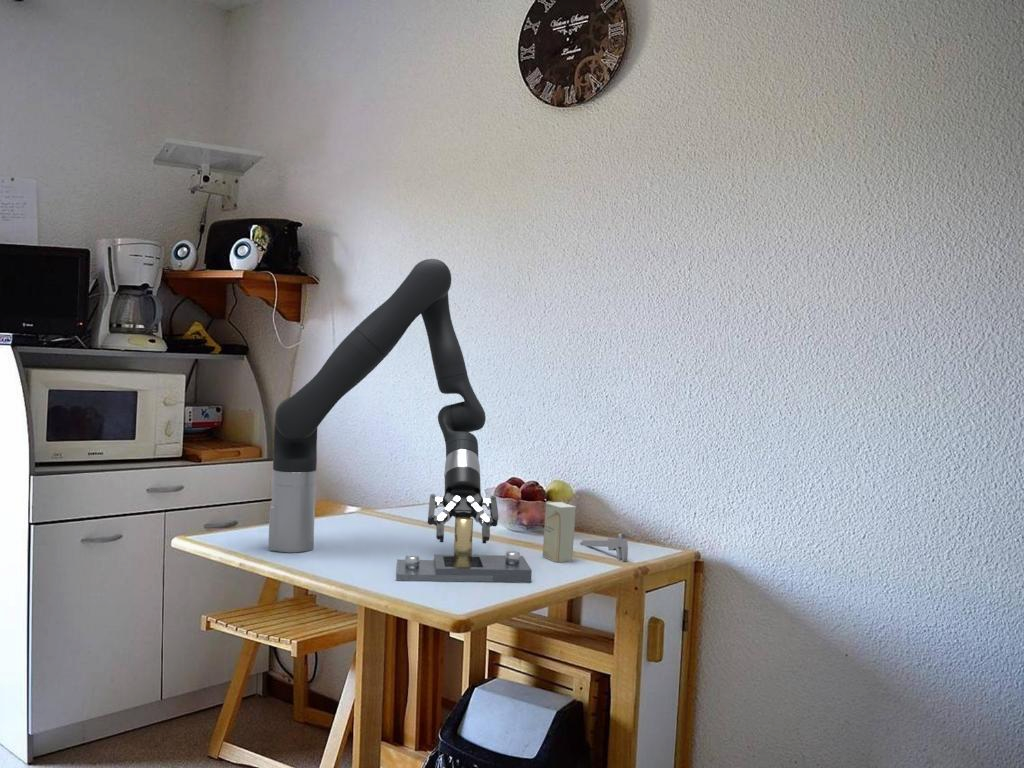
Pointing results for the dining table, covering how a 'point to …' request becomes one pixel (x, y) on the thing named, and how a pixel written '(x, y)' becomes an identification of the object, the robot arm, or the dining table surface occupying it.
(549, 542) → the skincare box
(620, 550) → the caliper
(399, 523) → the dining table surface
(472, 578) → the chain end lower
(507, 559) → the chain end upper
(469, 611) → the dining table surface
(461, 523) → the pin
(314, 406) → the robot arm
